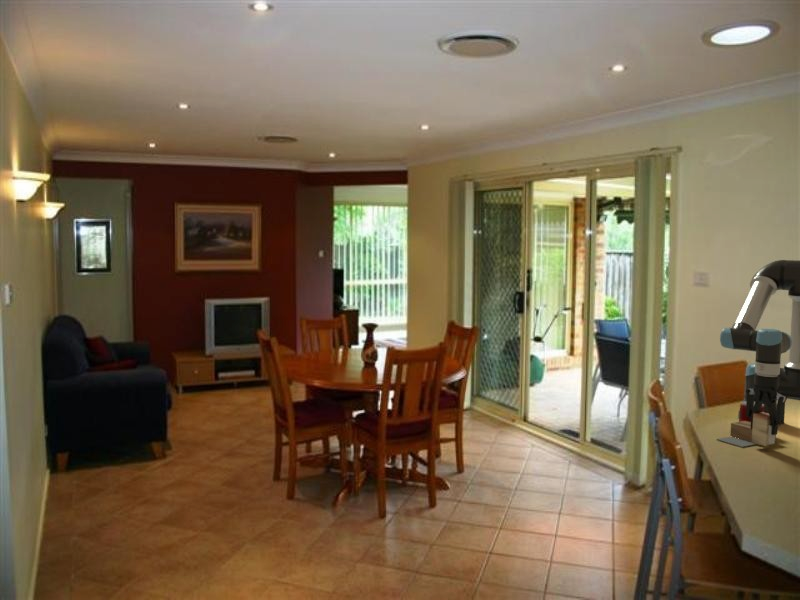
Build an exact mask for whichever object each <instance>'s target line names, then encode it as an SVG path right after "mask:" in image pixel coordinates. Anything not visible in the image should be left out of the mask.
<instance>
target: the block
mask: <svg viewBox="0 0 800 600" xmlns="http://www.w3.org/2000/svg"><path fill="white" fill-rule="evenodd" d="M770 424H771V421H770V416H769V414H768V413H764V412H760V413H755V414H753V428H752V442H753V443H756V444H757V445H758V444H760V445H759V446H764V447H767V446H771V445H775V444H776V442H775V443H773V444H768V428H769V425H770Z"/></svg>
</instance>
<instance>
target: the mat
mask: <svg viewBox="0 0 800 600" xmlns="http://www.w3.org/2000/svg"><path fill="white" fill-rule="evenodd" d="M718 440H719V441H718ZM716 441H718V442H721V441H723V442H722V443H724V442H726V443H725V444H728V443H730V444H729V445H731V444H733V445H732V446H734V445H736V447H738V446H740V447H739V448H741V447H744V448H748V446H749V447H752V446H753V447H754V446H757V445H758V444H756V443H752V442H749V441H745V440H742V439H738V438H735V437H730V436H727V437H721V438H717V439H716Z"/></svg>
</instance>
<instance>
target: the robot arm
mask: <svg viewBox="0 0 800 600" xmlns="http://www.w3.org/2000/svg"><path fill="white" fill-rule="evenodd" d="M749 288H750V289H749V291H748V293H747V295H746V297H745V299H744V302H743V304H742V306H741V308H740V310H739V312H738V314H737V316H736V318H735V320H734V322H733V324H732V326H731V327H723V328H722V329H721V331H720V336H719V342H720V345H721V347H723V348H725V349H730V350H731V349H732V350H740V351H747V352H755V361H754V363H749V364H748V365H746V368H745V374H744V393H743V394H744V395H743V397H744V398H743V401H746V417H749V418H750V419H751V429H752V428H753V414H755V413H760V410H761V407H762V404H764V413H768V414H769V416H770V421H771V424H770V425H769V428H768V444H773V443H775V444H776V441H775V435H778V431H779V430H778V427H779V426H781V425H784V424H785V412H786V411H785V410H786V409H785V408H786V401H787V400H793V401H800V260H794V259H793V260H790V259H788V260H787V259H778V260H774V261H772V262H769V263H767V264H765V265H764V266H763V267H761V268H760V269H759V270H758V271H757V272H756V273H754V274H753V277H752V278H751V280H750V282H749ZM780 290H781V291H788V292H787V296H788V297H789V298H790V299H792V301H791V302H792V304H791V318H790V334H788V333H787V332H785V331H782V330H779V329H774V328H760V329H758V330H756V329H757V327H758V325H759V323H760V321H761V318H762V316H763V314H764V313H765V312H764V311H766V310H765V309H766V307H767V305H768V303H769V302H770V299H771V297H772V296H773V295H775V294H776V293H777V291H780ZM787 351H789V355H788V361H787V362H786V363H784V366H783V367H781V359H782V358H781V357H782V354H785V353H787ZM754 402H755V405H754ZM737 413H738V414H737V415H738V416H737V418H738V419H739V416H740V409H739V410H738V412H737ZM773 445H774V444H773Z"/></svg>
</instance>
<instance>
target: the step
mask: <svg viewBox="0 0 800 600" xmlns="http://www.w3.org/2000/svg"><path fill="white" fill-rule="evenodd" d="M730 436H732V437H736V438H739V439H742V440H745V441H749V442H752V429H751V422H748V421H741V422H739V421H736V422H731V423H730ZM730 436H729V437H730ZM776 437H777V436H776V435H775V442H776V440H777V438H776ZM752 443H753V442H752ZM757 445H759V446H761V445H760V444H757Z"/></svg>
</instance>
